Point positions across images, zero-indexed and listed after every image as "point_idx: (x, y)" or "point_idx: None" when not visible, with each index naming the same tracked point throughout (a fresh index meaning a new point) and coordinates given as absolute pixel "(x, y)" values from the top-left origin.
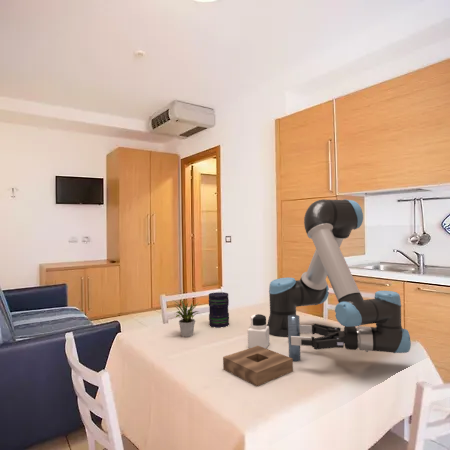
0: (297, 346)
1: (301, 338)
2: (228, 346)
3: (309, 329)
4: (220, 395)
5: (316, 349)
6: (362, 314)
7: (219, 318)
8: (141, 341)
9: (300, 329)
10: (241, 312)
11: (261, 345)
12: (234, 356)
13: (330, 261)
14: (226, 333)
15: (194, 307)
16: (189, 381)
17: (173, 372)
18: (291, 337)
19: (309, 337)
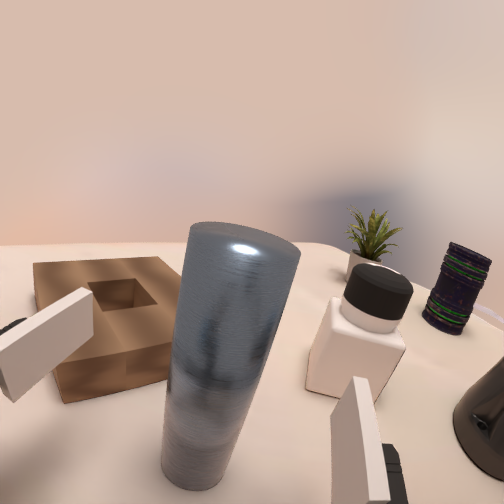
0: (164, 425)
1: (36, 319)
2: (311, 319)
3: (348, 496)
4: (46, 256)
5: None
6: None
7: (436, 301)
8: (302, 249)
9: (343, 436)
10: None
11: (310, 367)
12: (151, 267)
13: None
14: (401, 327)
15: (385, 234)
16: (119, 248)
17: (164, 246)
18: (79, 292)
19: (1, 343)
